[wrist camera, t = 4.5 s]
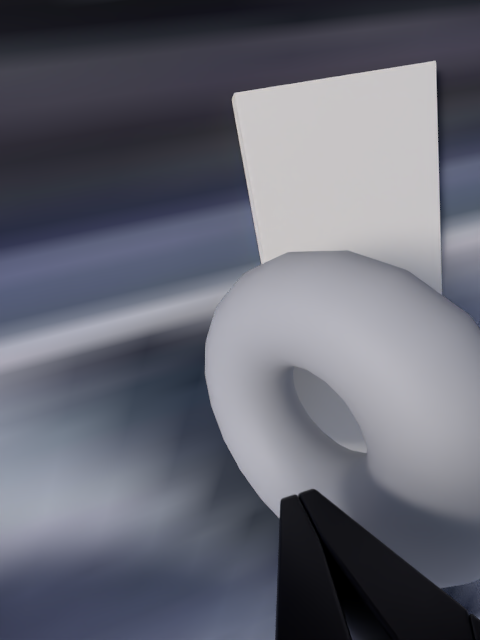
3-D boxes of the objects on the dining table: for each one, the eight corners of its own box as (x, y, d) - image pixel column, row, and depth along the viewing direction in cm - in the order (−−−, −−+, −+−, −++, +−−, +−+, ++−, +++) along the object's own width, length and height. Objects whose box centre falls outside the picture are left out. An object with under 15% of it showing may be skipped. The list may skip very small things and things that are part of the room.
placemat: (311, 543, 18) (316, 553, 17) (231, 99, 12) (234, 92, 11) (439, 500, 19) (447, 508, 18) (424, 68, 13) (436, 60, 12)
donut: (155, 284, 12) (495, 205, 4) (226, 265, 14) (536, 191, 6) (224, 513, 14) (547, 750, 6) (277, 465, 16) (566, 596, 8)
